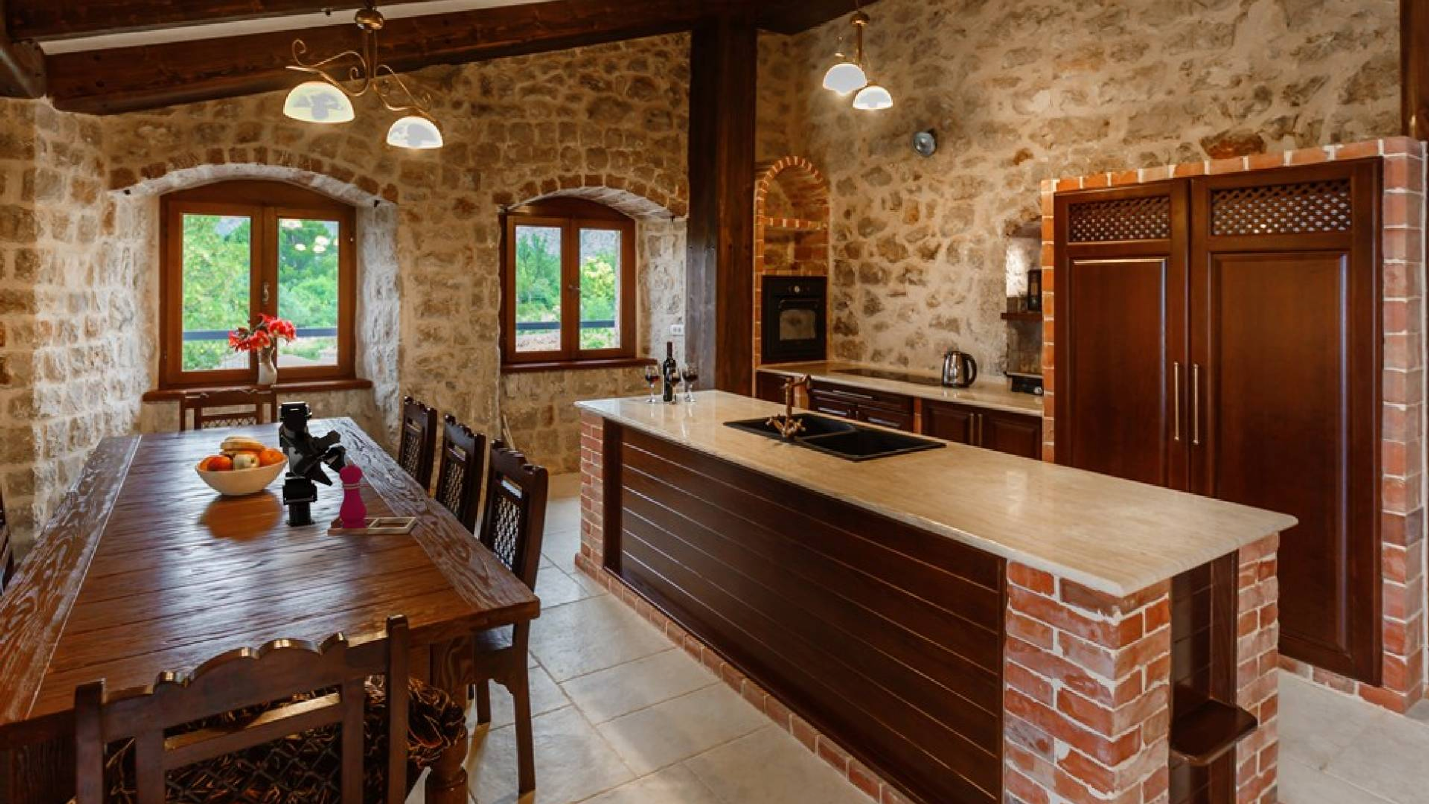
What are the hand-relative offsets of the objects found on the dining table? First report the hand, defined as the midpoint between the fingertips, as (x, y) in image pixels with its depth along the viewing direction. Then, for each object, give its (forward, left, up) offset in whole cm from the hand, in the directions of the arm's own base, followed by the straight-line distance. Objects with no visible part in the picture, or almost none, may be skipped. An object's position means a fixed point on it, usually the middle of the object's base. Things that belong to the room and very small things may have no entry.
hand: (340, 481), depth 232 cm
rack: (+6, +6, -14) cm, 16 cm away
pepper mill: (+2, +2, -14) cm, 14 cm away
